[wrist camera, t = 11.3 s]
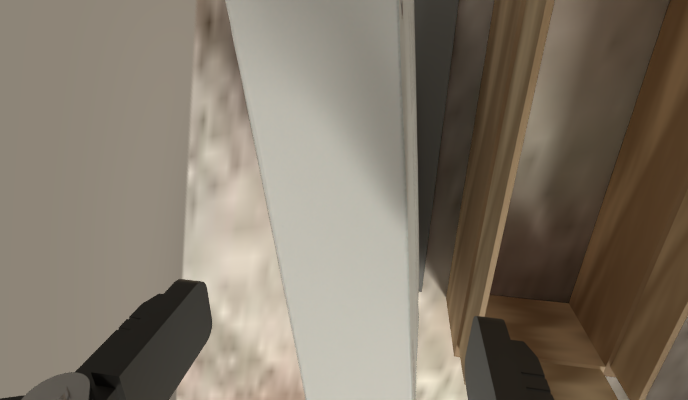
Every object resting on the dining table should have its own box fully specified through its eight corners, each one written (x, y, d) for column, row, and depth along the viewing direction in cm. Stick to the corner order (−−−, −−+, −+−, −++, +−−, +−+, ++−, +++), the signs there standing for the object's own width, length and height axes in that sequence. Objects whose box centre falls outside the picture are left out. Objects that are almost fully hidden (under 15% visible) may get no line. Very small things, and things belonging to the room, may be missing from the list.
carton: (714, -83, 20) (938, -162, 12) (576, 312, 32) (639, 418, 23) (507, -79, 22) (572, -148, 13) (446, 297, 33) (459, 392, 24)
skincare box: (326, -12, 24) (205, -68, 10) (414, -23, 23) (423, -103, 9) (354, 268, 32) (312, 459, 18) (419, 269, 31) (429, 471, 17)
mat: (464, -56, 22) (466, -58, 22) (421, 287, 33) (421, 291, 32) (315, -55, 24) (313, -57, 23) (319, 276, 34) (318, 280, 33)
